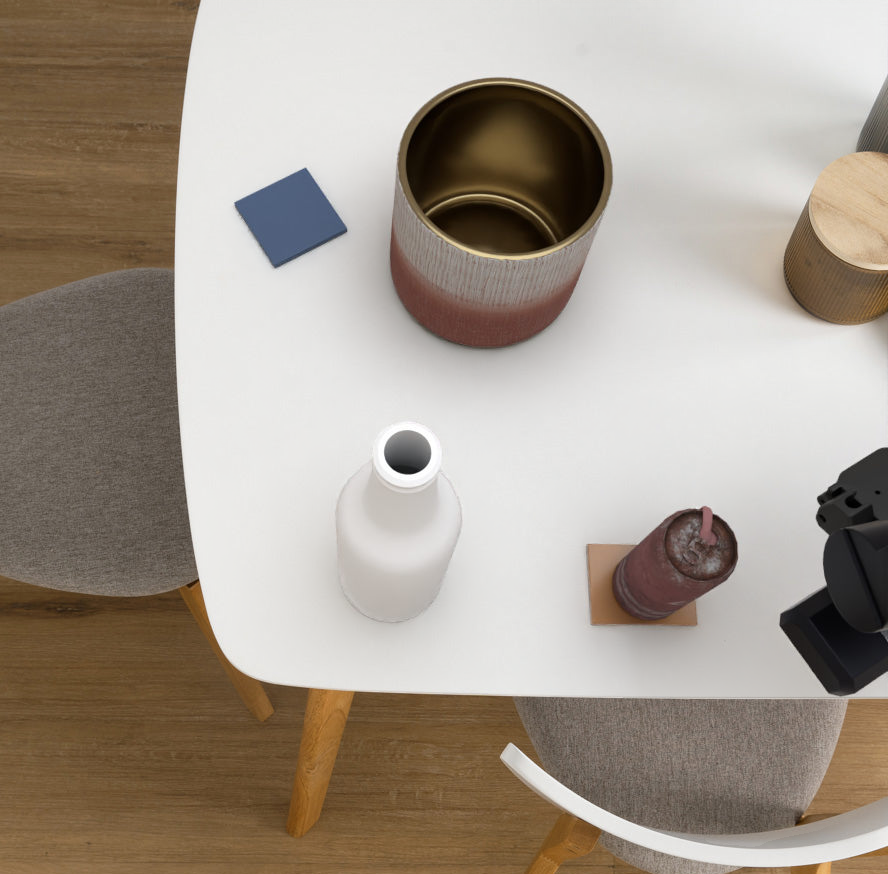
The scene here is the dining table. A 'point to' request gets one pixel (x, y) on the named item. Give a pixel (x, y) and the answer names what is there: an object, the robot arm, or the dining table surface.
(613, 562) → the caramel mat
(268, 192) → the slate mat
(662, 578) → the can
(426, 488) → the alcohol
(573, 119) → the planter
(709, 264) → the dining table surface
